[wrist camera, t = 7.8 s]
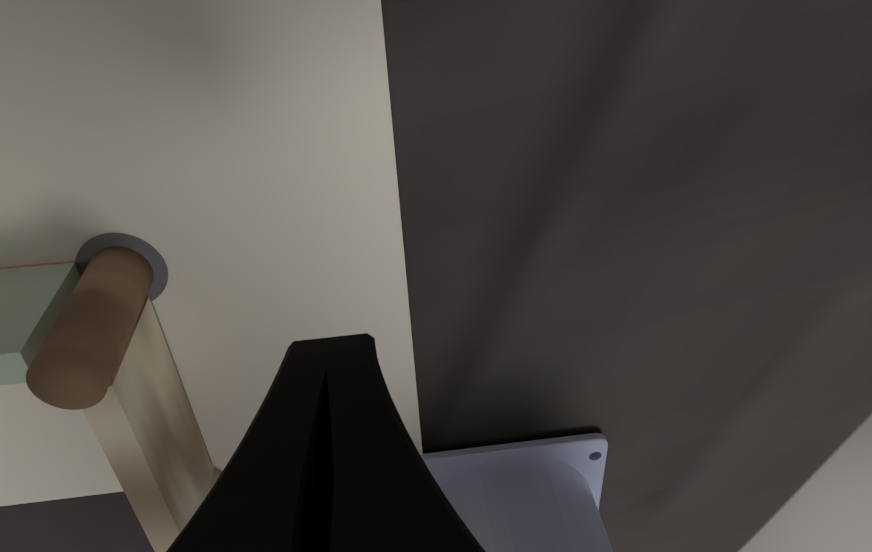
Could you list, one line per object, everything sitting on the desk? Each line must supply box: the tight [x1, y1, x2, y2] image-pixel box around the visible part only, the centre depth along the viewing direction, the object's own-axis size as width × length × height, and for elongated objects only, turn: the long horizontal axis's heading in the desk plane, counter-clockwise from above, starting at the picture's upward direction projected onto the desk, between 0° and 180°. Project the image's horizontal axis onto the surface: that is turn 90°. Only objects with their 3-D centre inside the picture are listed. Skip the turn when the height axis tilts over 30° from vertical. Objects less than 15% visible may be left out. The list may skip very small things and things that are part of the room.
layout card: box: [0, 0, 423, 506], centre depth 20 cm, size 20×18×1 cm
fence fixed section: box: [26, 246, 222, 552], centre depth 21 cm, size 12×2×5 cm, turn 3°
